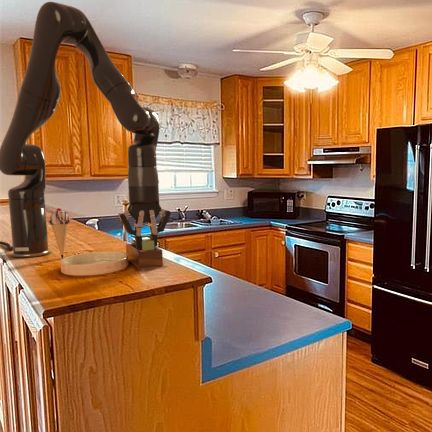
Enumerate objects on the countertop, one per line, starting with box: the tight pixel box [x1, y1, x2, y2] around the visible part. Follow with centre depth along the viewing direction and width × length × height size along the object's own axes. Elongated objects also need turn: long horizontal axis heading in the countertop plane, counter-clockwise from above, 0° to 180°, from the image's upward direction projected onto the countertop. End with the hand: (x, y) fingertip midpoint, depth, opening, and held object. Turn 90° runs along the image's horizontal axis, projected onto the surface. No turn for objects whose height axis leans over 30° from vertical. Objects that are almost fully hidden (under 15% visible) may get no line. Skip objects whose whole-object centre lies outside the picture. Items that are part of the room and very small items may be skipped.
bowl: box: [59, 250, 130, 276], centre depth 111 cm, size 16×16×3 cm
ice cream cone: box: [48, 207, 72, 259], centre depth 121 cm, size 6×6×15 cm
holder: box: [125, 242, 164, 270], centre depth 116 cm, size 14×6×5 cm, turn 34°
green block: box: [142, 238, 155, 251], centre depth 113 cm, size 4×3×2 cm
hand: (146, 248), depth 113 cm, fingers closed on green block, 3 cm apart
